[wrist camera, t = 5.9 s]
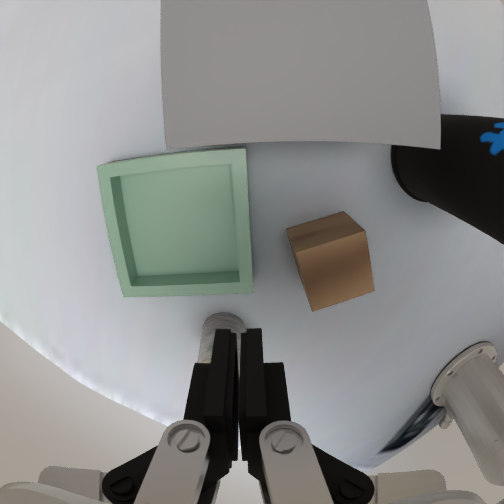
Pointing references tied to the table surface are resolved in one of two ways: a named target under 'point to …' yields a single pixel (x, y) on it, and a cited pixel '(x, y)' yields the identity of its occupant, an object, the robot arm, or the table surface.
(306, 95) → the box
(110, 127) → the table surface
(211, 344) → the fuse
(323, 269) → the walnut block
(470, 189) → the aerosol can
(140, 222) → the tray
